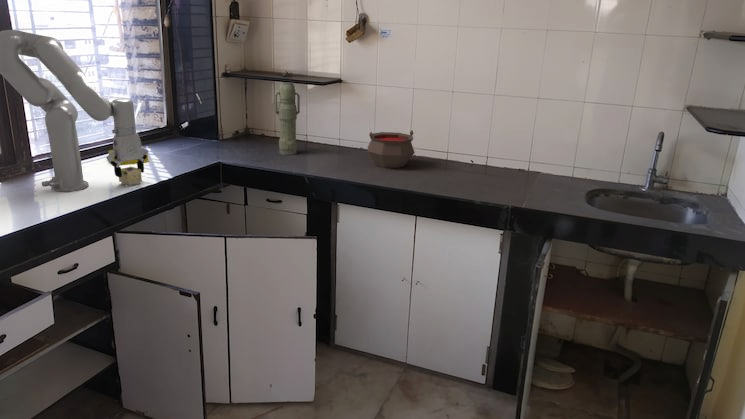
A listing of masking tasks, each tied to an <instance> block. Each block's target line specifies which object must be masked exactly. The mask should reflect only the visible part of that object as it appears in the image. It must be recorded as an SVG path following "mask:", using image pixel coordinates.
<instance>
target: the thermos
mask: <svg viewBox="0 0 745 419" xmlns="http://www.w3.org/2000/svg"><path fill="white" fill-rule="evenodd" d="M278 95H279V106H278ZM296 96H297V105H296ZM300 97H301V95H300V94H299V93H298V92H296V88H295V84H294V83H293V82H291V81H290V82H289V81H287V82H285V81H284V82H282V83H280V86H279V91H277V92H276V93H275V94H274V98H275V99H274V100H275V102H274V103H275V105H274V106H275V114H277V115H278V119H279V141H278V148H279V149H278V150H279V152H278V154H280V155H283V156H295V155H297V153H298V152H297V151H298V150H297V149H298V142H297V124H296V123H297V119H298V118H297V117H298V116H297V115H298V114H300V111H301V110H300V108H301V107H300V104H301V103H300V102H301V100H300V99H301V98H300Z"/></svg>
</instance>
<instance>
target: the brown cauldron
mask: <svg viewBox="0 0 745 419" xmlns="http://www.w3.org/2000/svg"><path fill="white" fill-rule="evenodd" d="M413 135H414V131H413V130H412V129H411V130H410V132H409V134H408V133H407V134H406V133H403V132H392V131H391V132H388V131H387V132H385V131H380V132H375V133H373V132H372V131H370V132H369V134H368V136H369V138H370V141H369V143H368V146H367V153H368V154H369V156H370V158H371V159H372V161H373V163H375V165H376V166H378V167H381V168H385V169H387V168H389V169H390V168H391V169H399V168H402V167H405V166H406V165H407V163H408V162H409V161H410V159H411V158H412V157H413V156H414V155H415V154H416V153H415V149H414V147H413V143H412V141H413V140H414V136H413Z"/></svg>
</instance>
